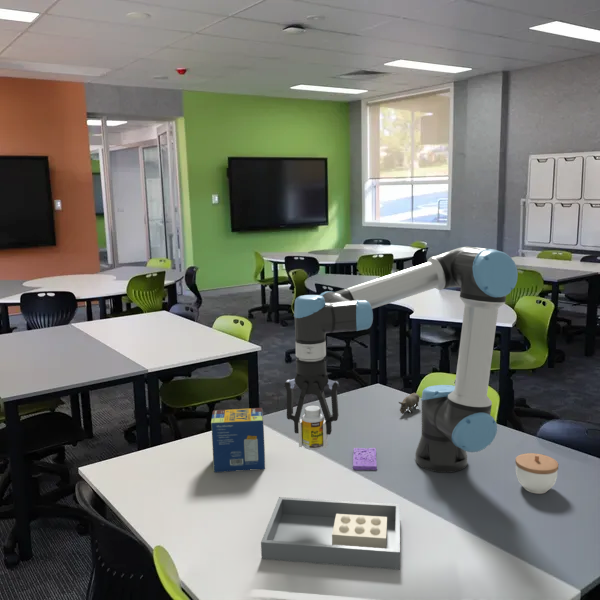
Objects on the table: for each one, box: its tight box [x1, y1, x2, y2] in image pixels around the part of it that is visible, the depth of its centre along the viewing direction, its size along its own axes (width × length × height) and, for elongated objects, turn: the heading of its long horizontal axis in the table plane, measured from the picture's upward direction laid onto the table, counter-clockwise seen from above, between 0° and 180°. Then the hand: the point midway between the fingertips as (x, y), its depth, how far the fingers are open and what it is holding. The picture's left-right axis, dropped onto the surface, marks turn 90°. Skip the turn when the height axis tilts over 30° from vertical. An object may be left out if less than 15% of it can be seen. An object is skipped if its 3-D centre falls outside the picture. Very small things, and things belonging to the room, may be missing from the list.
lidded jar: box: [514, 452, 559, 495], centre depth 161 cm, size 11×11×9 cm
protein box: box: [210, 407, 266, 473], centre depth 181 cm, size 10×15×16 cm
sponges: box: [352, 447, 378, 471], centre depth 182 cm, size 7×13×2 cm, turn 174°
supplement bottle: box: [301, 405, 325, 451], centre depth 153 cm, size 6×6×10 cm
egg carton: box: [332, 514, 387, 548], centre depth 138 cm, size 12×9×5 cm
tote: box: [260, 496, 401, 571], centre depth 139 cm, size 30×20×5 cm, turn 80°
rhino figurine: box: [398, 392, 420, 415], centre depth 221 cm, size 4×14×6 cm, turn 142°
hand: (313, 445), depth 154 cm, fingers closed on supplement bottle, 6 cm apart
